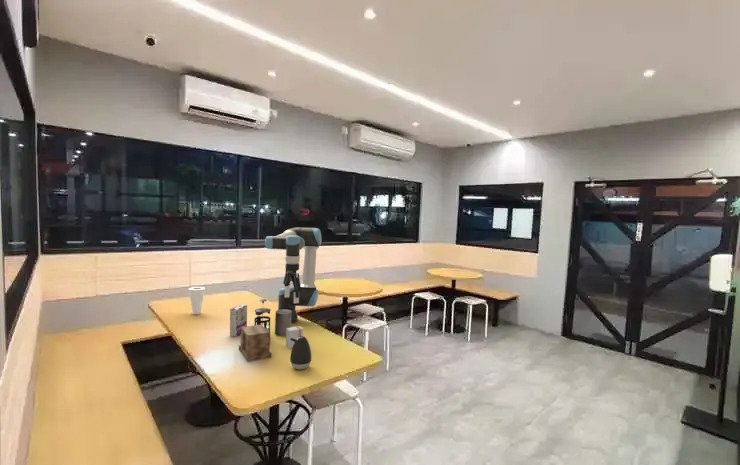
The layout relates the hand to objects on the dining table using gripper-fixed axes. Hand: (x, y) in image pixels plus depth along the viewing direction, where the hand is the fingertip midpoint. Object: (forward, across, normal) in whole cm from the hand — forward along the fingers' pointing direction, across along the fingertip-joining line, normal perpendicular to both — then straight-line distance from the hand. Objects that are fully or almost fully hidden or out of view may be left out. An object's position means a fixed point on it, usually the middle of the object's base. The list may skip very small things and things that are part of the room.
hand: (291, 300), depth 200 cm
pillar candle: (+26, -18, +2) cm, 31 cm away
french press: (+25, -15, -12) cm, 32 cm away
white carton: (+25, +5, 0) cm, 25 cm away
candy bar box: (+26, -29, -22) cm, 44 cm away
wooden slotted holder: (+24, +5, -21) cm, 33 cm away
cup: (+27, -84, -36) cm, 95 cm away
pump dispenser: (+24, +32, -8) cm, 41 cm away
